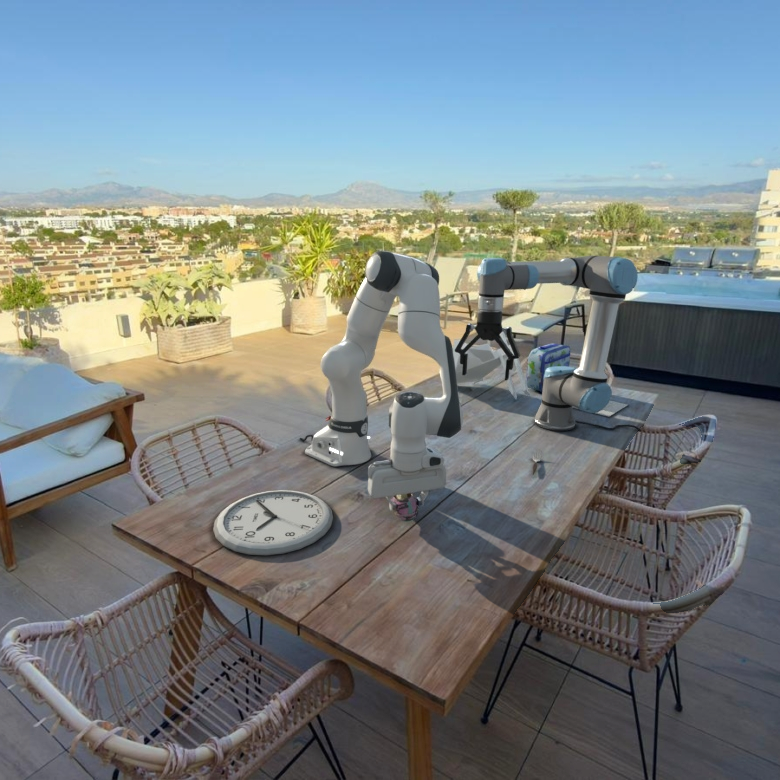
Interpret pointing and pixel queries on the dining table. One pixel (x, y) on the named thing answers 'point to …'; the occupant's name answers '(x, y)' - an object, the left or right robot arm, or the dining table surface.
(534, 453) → the fork
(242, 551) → the wall clock
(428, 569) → the dining table surface
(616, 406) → the invitation card
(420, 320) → the left robot arm
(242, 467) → the dining table surface
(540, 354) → the lunch box
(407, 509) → the shoe
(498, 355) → the white plastic object
